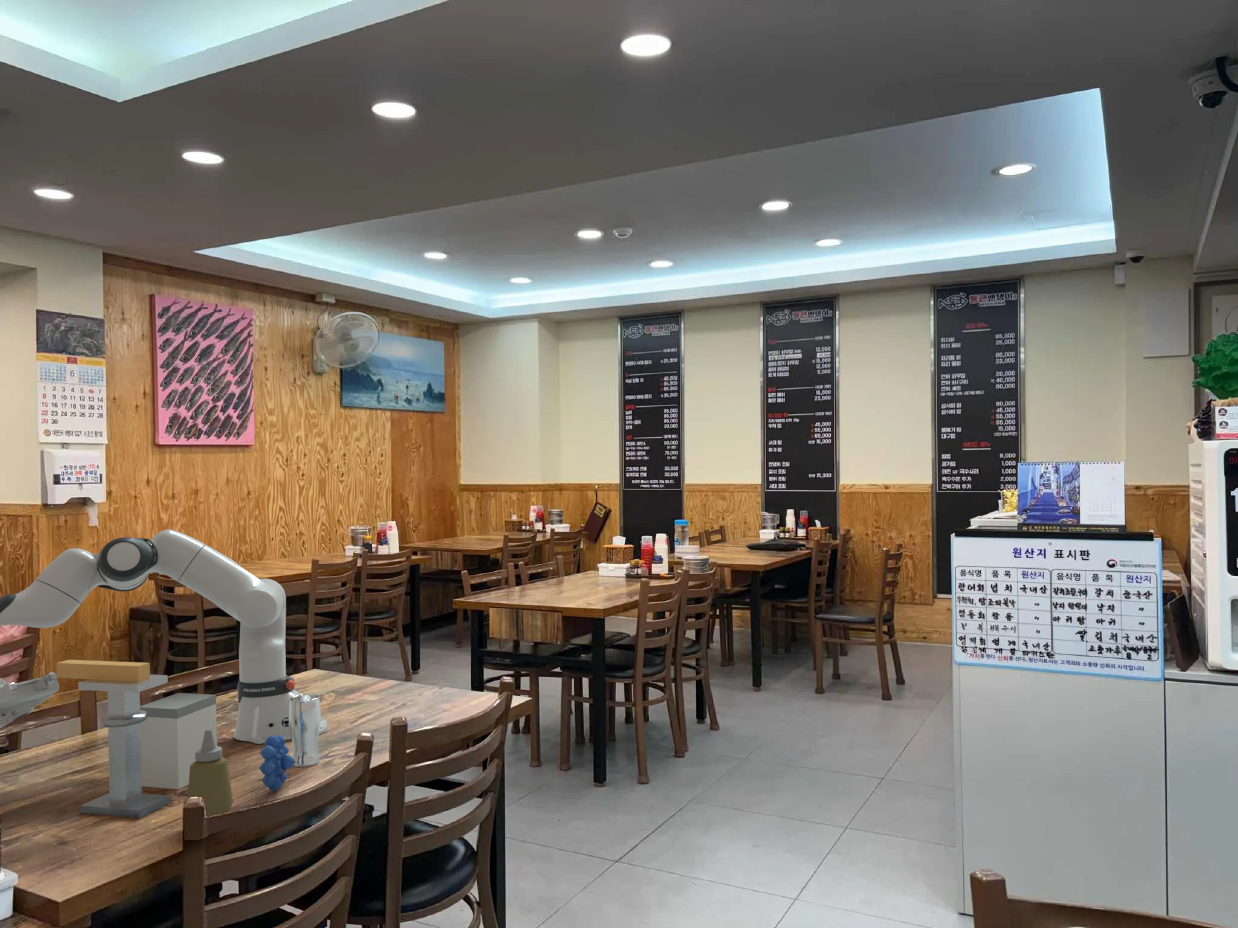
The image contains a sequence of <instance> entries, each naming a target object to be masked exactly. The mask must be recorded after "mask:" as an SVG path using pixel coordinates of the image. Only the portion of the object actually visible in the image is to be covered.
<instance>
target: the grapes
mask: <svg viewBox="0 0 1238 928" xmlns="http://www.w3.org/2000/svg"><path fill="white" fill-rule="evenodd" d="M285 743H286V740H284V739H283V738H282V736H280V735H275V736H274V735H272V736H270V737H268V738H267V740H266V741H265V743H263V744H264V745H265V746H264V747H263V748H261V751H260V752H259V753H260V756H261V758H263V759H264V761H263V762H262V763H261V764H260V765H259V767H258V769H259V770H260V772H261V774H262V775H264V776H263V777H262V779H261V782H262V784H263V785H264V787H266V788H268V789H269V790H270V791H271V792H277V791H278V790H280V788H281V787H282V786H283V784H284V783H285V782H286V780H287V779H288V776H287V775H286V771H287V770H290V769H291V768H293V767H294V766H293V765H294V764H295V760H294V759H293V755H290V754H288V753H289V752H290V750H289V748H288V746H287V745H286V744H285Z"/></svg>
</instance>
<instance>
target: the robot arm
mask: <svg viewBox="0 0 1238 928" xmlns="http://www.w3.org/2000/svg"><path fill="white" fill-rule="evenodd" d="M152 573H158V574H162V575H164V576H167V577H170V578H171V579H172V580H174V581H176V582H177V583H179V584H181V585H183V586H185V587H187V588H188V589H190V590H192V591H193V592H195V593H197V594H199V595H200V596H202V597H204V598H206V599H207V600H208V601H210V602H212V603H213V604H214V605H216V606H217V607H218V608H219V609H220V610H222V611H224V612H225V613H226V614H228V615H229V616H231V617H232V618H233V619H235V620H236V621H238V622H240V628H239V629H240V630H239V643H238V645H239V646H238V661H239V663H238V665H239V666H238V667H239V679H238V681H237V701H238V713H237V721H236V726H235V731H234V734H233V738H234V739H235V740H237V741H241V742H250V743H253V744H258V745H261V744H264V743H265V741H266V740H267V738H268V737H270V736H272V735H274V736H275V735H280V736H282V738H283V739H284V740H285V741H287V740H292V738H291V733H290V727H289V699H290V698H291V697H294V696H297V695H303V693H301V692H299V691H297V690H296V689H295V687H296V686H295V685H296V682H295V678H294V676H293V675H292V676H290V675H287V673H286V672H287V669H286V668H287V667H286V666H287V663H286V633H287V632H286V627H287V625H286V623H287V618H286V616H287V608H286V607H287V596H286V591H285V589H284V587H283V586H282V585H281V583H279V582H278V581H275V580H274V579H270V578H258V577H257V576H255V575H253V574H252V573H251V572H249V571H248V570H246V569H245V568H244V567H242V566H241V565H240V564H238V562H236V561H235V560H233V559H232V558H231V557H228V556H226V555H225V554H223V553H221V552H219V551H218V550H216V549H214V548H213V547H211V546H209V545H207V544H206V543H203V542H202V541H200V540H199V539H196V538H194V537H191V536H190V535H188V534H185V533H183V532H180V531H177V530H174V529H164V530H162V531H160V532H157V533H156V534H155V535H154V536H153V537H152V538H151V539H149V538H147V537H145V538H144V537H130V536H128V537H127V536H126V537H125V536H124V537H117V538H115V539H112V540H110V541H109V542H107V543H106V544H104V546H103V547H102V549H101V550H100V552H99V553H93V552H92V553H91V552H90V551H88V550H85V549H82V548H77V547H76V548H75V547H74V548H69V549H65V550H64V551H62V552H61V553H60V554H59V555H58V556H57V557H56V558H55V559H53V560H52V561H51V562H50V563H49V564H48V565H47V566H46V567H45V568H44V569H43V570H42V572H41V573H39V574H38V576H37V577H36V579H34V581H33V582H31V584H30V585H29V586H27V588H24V589H23V590H22V591H20V592H17V593H15V594H12V593H11V594H10V593H9V594H5V595H3V596H1V597H0V627H4V626H21V627H27V628H35V629H36V628H37V629H38V628H39V629H47V628H48V629H49V628H53V627H56V626H60V625H62V624H63V623H65V622H66V621H68V620H69V619H70V618H71V616H72V615H73V614H74V613H75V612H76V611H77V609H78V608H79V607H80V606H81V604H82V603H83V602H84V601H85V600H86V598H87V596H88V595H89V594H90V593H91V592H92V591H93V590H94V589H95V588H96V587H98V588H102V589H106V590H110V591H111V590H112V591H115V592H131V591H134V590H136V589H139V588H140V587H141V586H142V585H144V584H145V582H146V581H147V579H148V578H149V574H152ZM59 689H60V685H59V681H58V678H57V673H56V671H52V672H47V673H46V674H45V675H43V676H41V677H36V678H33V679H29V680H25V681H20V682H18V683H16V682H9V683H8V682H7V681H6V680H4V679H3V678H1V677H0V728H4V727H5V726H7V725H8V724H10V723H11V722H14V721H15V720H17V719H20V718H22V717H25V716H27V715H30V714H31V713H32V712H34V709H35V708H36V707H37V706H38V705H40V704H42V703H43V702H45V701H46V700H48V699H49V698H50V697H52V696H53V695H54V694H56V693H57V692H58V691H59ZM327 729H328V722H327V719H326V718H323V717H321V721H320V730H319V735H321V734H323V733H324V732H325V731H326V730H327Z"/></svg>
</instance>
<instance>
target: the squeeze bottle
mask: <svg viewBox="0 0 1238 928" xmlns="http://www.w3.org/2000/svg"><path fill="white" fill-rule="evenodd" d="M195 760H196V761H195V762H193V763H192V764H191V766H190V774H189V785H187V786H188V788H187V798H190V797H195V796H196V797H202V798H203V799H204V803H205V810H206V816H207V817H210V816H213V815H218V814H224V813H227V812H230V813H231V809H232V807H233V803H234V800H233V789H232V783H231V777H230V776H231V775H230V768H229V762H228V759H226V757H224V756H223V748H222V747H221V746H218V745H217V746H216V744H215V740H214V737H213V733H212V730H205V733H204V738H203V743H202V748H200V749H198V750H196V752H195ZM187 798H186V799H187Z"/></svg>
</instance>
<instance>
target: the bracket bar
mask: <svg viewBox="0 0 1238 928" xmlns="http://www.w3.org/2000/svg"><path fill="white" fill-rule="evenodd" d="M55 664H56V665H55V666H56V670H55V674H56V676H57V679H59V678H60V679H61V678H62V679H76V680H77V679H78V680H79V679H80V680H87V679H97V680H118V681H141V680H145V679H148V678H150V675H151V669H150V667H151V665H150V664H151V663H150V662H135V661H115V660H114V661H111V660H110V661H108V660H88V659H87V660H84V659H83V660H82V659H66V660H62V661H59V662H56V663H55Z"/></svg>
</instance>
